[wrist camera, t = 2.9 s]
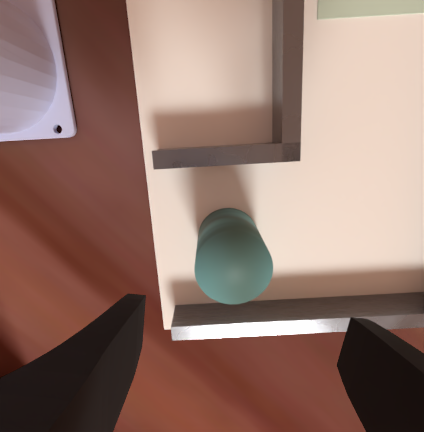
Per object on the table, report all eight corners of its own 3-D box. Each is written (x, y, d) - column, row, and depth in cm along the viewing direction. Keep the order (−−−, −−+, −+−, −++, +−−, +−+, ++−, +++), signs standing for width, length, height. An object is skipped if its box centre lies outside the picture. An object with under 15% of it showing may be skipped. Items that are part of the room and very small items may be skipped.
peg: (200, 265, 20) (197, 306, 15) (196, 209, 19) (191, 234, 14) (257, 262, 20) (273, 302, 15) (257, 206, 19) (273, 229, 14)
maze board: (165, 325, 22) (164, 330, 21) (109, -159, 14) (105, -171, 14) (430, 311, 22) (436, 316, 21) (513, -186, 14) (526, -199, 14)
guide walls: (176, 317, 21) (172, 340, 19) (129, -144, 14) (113, -201, 12) (437, 303, 21) (467, 324, 19) (519, -169, 14) (583, -233, 12)
